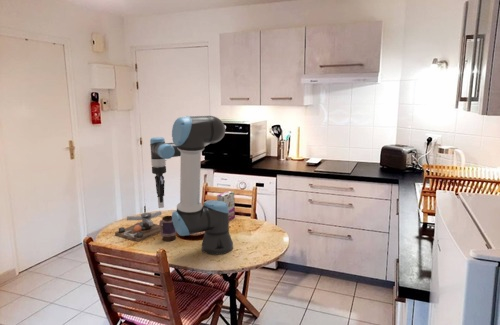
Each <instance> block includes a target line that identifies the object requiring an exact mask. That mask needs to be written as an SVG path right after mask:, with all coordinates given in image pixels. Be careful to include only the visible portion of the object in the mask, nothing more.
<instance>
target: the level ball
mask: <svg viewBox="0 0 500 325" xmlns="http://www.w3.org/2000/svg"><path fill="white" fill-rule="evenodd" d="M141 229H142V227H141V226H140V225H136V226H135V227H134V231H135V232H140V231H141Z"/></svg>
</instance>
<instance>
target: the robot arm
mask: <svg viewBox="0 0 500 325" xmlns="http://www.w3.org/2000/svg"><path fill="white" fill-rule="evenodd" d="M171 129H172V130H171V137H172V142H166V141H165V138H164V137H159V136H156V137H151V138H150V141H149V142H150V144H149V146H150V157H151V158H150V163H151V173H152V174H154V180H155V189H156V195H157V202H158V203H157V204H158V205H157V206H158V208H159V209H163V208H165V204H164V196H165V176H164V175H163V174H166V172H167V166H166V165H167V164H166V163H167V160H169V159H170V160H171V158H177V157H180V170H179V171H180V183H179V185H180V186H179V188H180V189H179V193H180V194H179V203H178V204H177V205H176V210H174V211H173V212H172V213H171V216H172V221H173V225H174V228H175V230H176V234H178V235H179V236H181V237H185V236H190V235H193V234H198V233H202V232H204V235H203V239H202V241H201V250H202V252H203V253H205V254H209V255H222V254H226V253H229V252H231V251H232V250H233V249H234V242H233V239H232V237H231V234H230V220H229V210H228V205H227V204H226V203H224V202H221V201H217V200H214V199H212V200H206V201H204V202H203V204H202V202H201V201H200V192H201V161H202V160H201V154H202V152H203V151H204V150H205V147H206V146H208V145H210V144H216V143H218V142H220V141H221V140H222V139H223V138H224V137H225V134H226V126H225V124H224V123H223V121H222V120H221V119H220V118H219V117H217V116H213V115H196V116H192V115H191V116H190V115H189V116H188V115H186V116H182V117H178V118H176V119H175V120H174V122H173V124H172V128H171Z"/></svg>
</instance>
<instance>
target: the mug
mask: <svg viewBox="0 0 500 325" xmlns="http://www.w3.org/2000/svg"><path fill="white" fill-rule="evenodd" d="M161 218H162V219H161V220H159V224H158V225H159V226H160V232H159V234H160V237H162V240H163V241H164V242H172V241H174V240H176V239H177V232H176V230H175V228H174V225H173V221H172V215H164V216H162V217H161Z"/></svg>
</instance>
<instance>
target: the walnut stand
mask: <svg viewBox="0 0 500 325" xmlns="http://www.w3.org/2000/svg"><path fill="white" fill-rule="evenodd" d="M134 225H135V224H133V225H131V226H128V227H126V228H125V227H124V226H123V227H122V226H121V227H119V228H118V231H115V232H114V236H116V237H120V238H124V239H128V240H130V241H134V242H136V243H137V242H138V243H139V242H142V241H144V240H146V239H148V238H151V237H153V236H155V235H157V234H160V226H159V224H157V223H153V225H152V228H151V229H149V230H144V231H140V232H135V231H134Z"/></svg>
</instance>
